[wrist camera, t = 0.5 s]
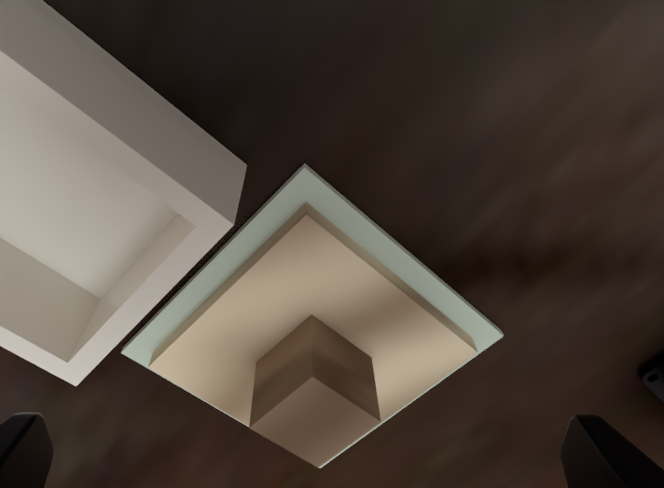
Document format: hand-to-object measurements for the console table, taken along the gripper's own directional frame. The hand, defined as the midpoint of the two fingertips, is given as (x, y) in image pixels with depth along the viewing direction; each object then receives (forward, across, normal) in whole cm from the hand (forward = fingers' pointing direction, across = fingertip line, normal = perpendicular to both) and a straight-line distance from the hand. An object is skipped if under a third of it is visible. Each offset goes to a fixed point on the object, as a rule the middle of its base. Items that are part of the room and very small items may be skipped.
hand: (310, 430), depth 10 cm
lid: (+13, 0, +9) cm, 15 cm away
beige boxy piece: (+13, +9, +1) cm, 15 cm away
